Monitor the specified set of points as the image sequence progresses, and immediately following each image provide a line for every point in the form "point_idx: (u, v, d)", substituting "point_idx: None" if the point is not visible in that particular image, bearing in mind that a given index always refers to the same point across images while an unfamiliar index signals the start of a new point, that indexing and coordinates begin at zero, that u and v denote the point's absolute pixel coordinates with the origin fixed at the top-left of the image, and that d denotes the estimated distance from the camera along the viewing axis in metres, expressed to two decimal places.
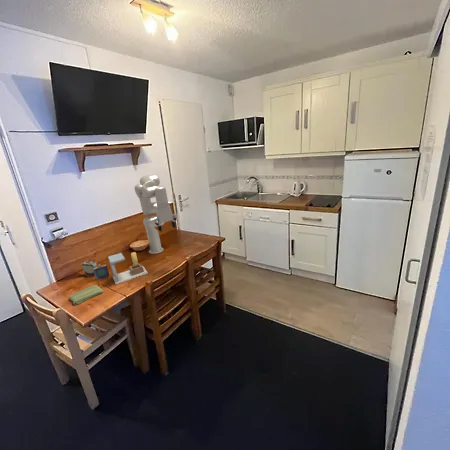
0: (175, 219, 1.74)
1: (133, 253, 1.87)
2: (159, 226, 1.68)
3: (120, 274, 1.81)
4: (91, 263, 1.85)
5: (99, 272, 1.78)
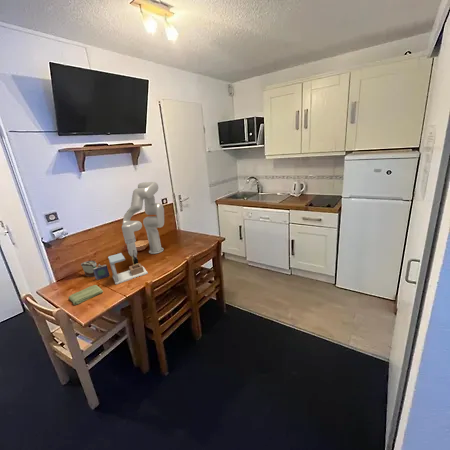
0: None
1: None
2: None
3: (120, 274, 1.81)
4: (91, 263, 1.85)
5: (99, 272, 1.78)
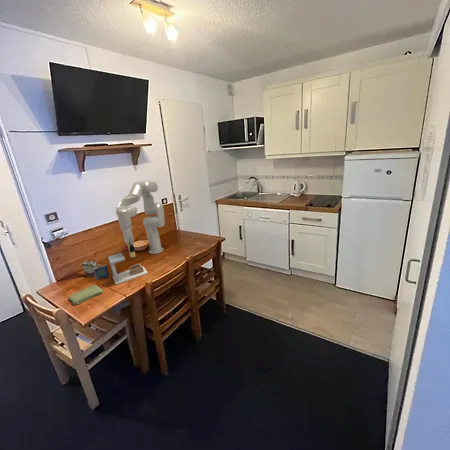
0: None
1: None
2: (132, 247, 1.74)
3: (120, 274, 1.81)
4: (91, 263, 1.85)
5: (99, 272, 1.78)
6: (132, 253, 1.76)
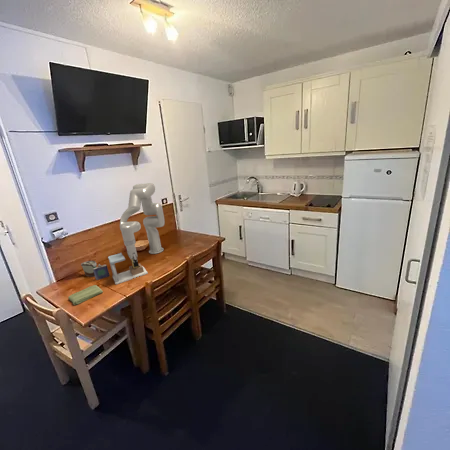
0: None
1: (133, 257, 1.78)
2: None
3: (120, 274, 1.81)
4: (91, 263, 1.85)
5: (99, 272, 1.78)
6: None
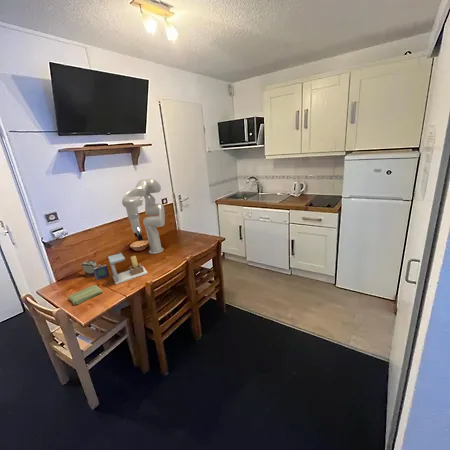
0: None
1: (133, 257, 1.78)
2: (140, 235, 1.77)
3: (120, 274, 1.81)
4: (91, 263, 1.85)
5: (99, 272, 1.78)
6: None
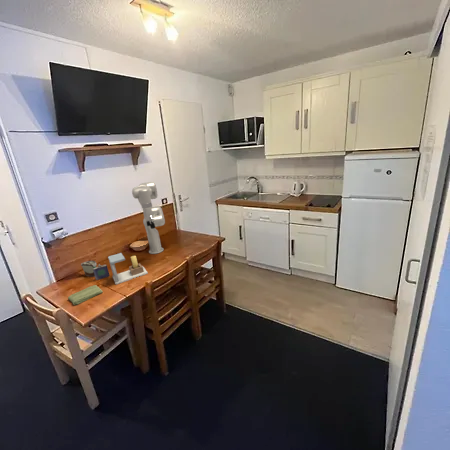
0: None
1: (133, 257, 1.78)
2: None
3: (120, 274, 1.81)
4: (91, 263, 1.85)
5: (99, 272, 1.78)
6: None
